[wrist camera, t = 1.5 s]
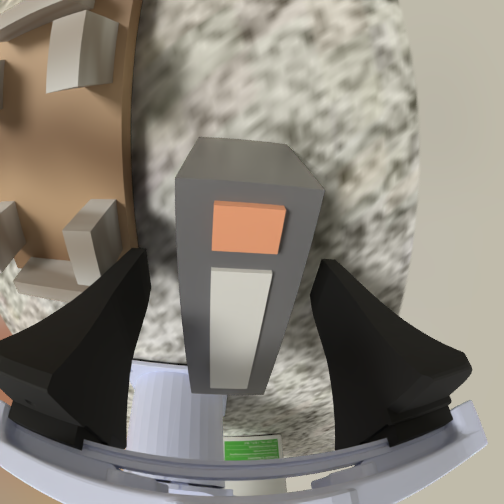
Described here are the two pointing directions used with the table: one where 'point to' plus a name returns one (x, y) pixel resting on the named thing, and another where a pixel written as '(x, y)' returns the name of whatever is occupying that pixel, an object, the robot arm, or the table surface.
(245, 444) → the skincare box
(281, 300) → the grey rectangular block
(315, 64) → the table surface
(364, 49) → the table surface
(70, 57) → the mounting board
